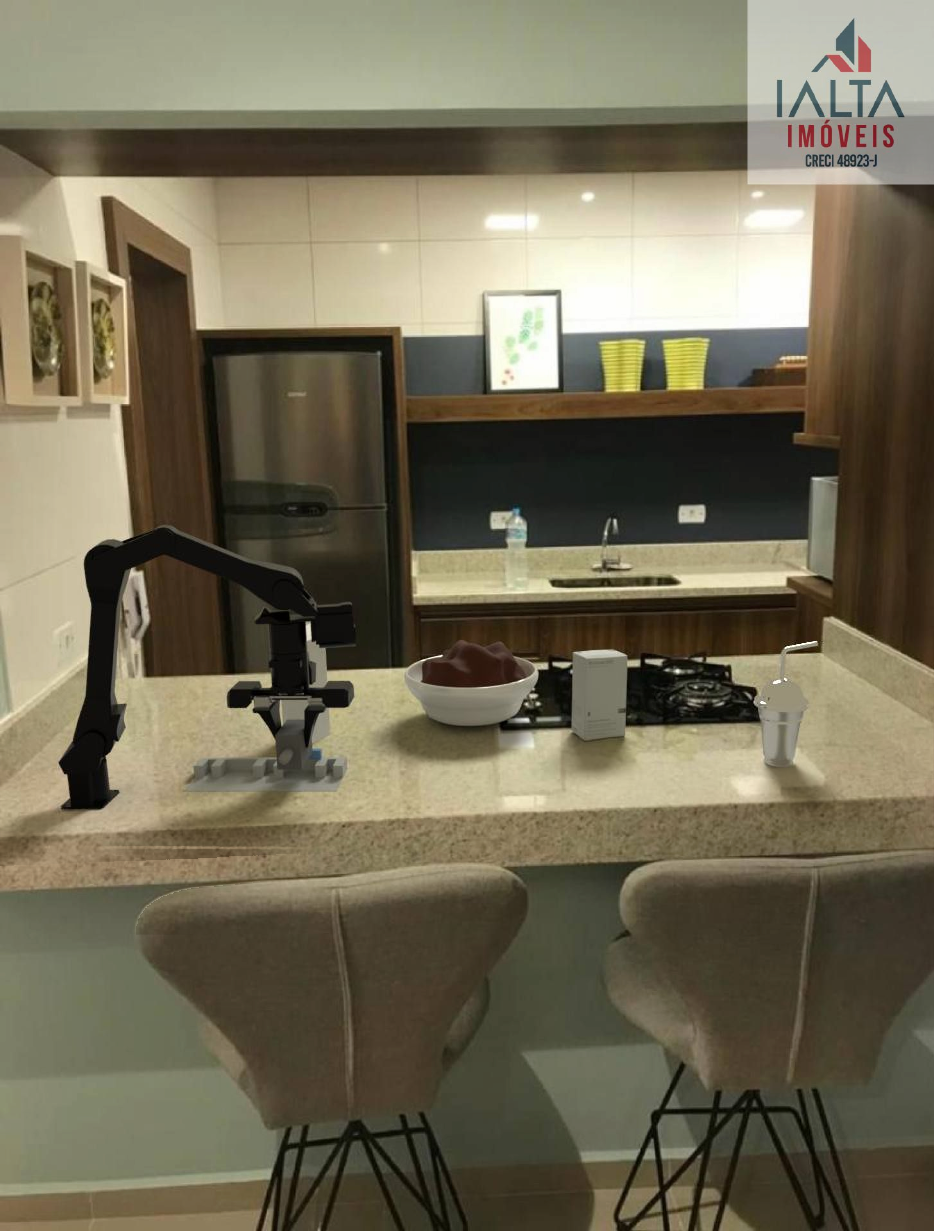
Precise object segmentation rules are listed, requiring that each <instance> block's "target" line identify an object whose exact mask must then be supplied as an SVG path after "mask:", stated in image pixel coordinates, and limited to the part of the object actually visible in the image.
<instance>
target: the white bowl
mask: <svg viewBox="0 0 934 1231" xmlns="http://www.w3.org/2000/svg"><path fill="white" fill-rule="evenodd" d="M403 675H404V676H403V679H404V684H405V685H406V687H407V689H408V690H409V691H410V693H411V694H412V695H413V696H414V697H415V699H417V700H418V701H419V703H420V705H421V707H422V709H423V711H424V712H425V714H426V715H427V716H428V718H431V719H433V720H434V721H437V722H439V723H442V724H444V725H445V724H446V725H451V726H461V727H478V726H480V727H481V726H489V725H494V724H498V723H501V722H504V721H507V720H508V719H510V718H512V717H514V716H515V715H516V714H518V713H519V711H520V708H521V707H522V705H523V702H524V700H525V698H526V697H527V696H528V695H529V694H530V693H531V692H532V690H533V689H534V687H535V686H536V684H537V683H538V679H539V670H538V669H537V666H536V665H535V664H534V663H532V662H531V661H529V660H527V659H525V658H520V657H518V656H514V655H513V654H512V652H511V651H510V650H509V649H508V647H506V646H505V643H504V642H502V641H496V642H494V643H491V644H489V645H487V646H481V645H479V644H476V643H471V642H470V643H469V642H467V641H466V640H462V639H459V640H457V641H456V642H455V643H454V644H453V645H452V646H451V648H450V649H445V650H444V651H443V652H442V653H441V655H437V656H432V657H428V658H425V659H422V660H419V661H416V662H414V663H412V664H411V665H409V666H408V667H407V668H406V669H405V672H404V674H403Z"/></svg>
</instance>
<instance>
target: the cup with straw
mask: <svg viewBox="0 0 934 1231" xmlns="http://www.w3.org/2000/svg"><path fill="white" fill-rule="evenodd" d="M818 646H819V643H818V641H817V640H816V641H811V642H806V643H801V644H796V645H789V646H786V647H784V648H783V649H782V650H781V652H780V670H779V671H780V672H779V678H775V679H772V680H770V681H768V682H766V683H765V684H764V685H763V686H762V688H761V689H760V691H759V693H758V694H757V695H756V696H754V700H753V704H754V706H755V707H757V708H758V714H759V720H760V727H761V728H760V729H761V742H762V754H763V756H764V758H763V762H764V764H766V765H769V766H772V767H777V768H786V767H787V768H788V767H790V766H793V764H794V758H795V755H796V749H797V744H798V740H799V732H800V728H801V723H802V721H803V718H804V715H805V714H804V713H805V711H807V710H809V708H810V707H811V706H810V702H809V699H808V698H807V697H805V694H804V692H803V690H802V688H801V687H800V686H799V685H798V684H797V683H796V682H795V681H792V680H790V679H787V678H785V676H786V660H787V659H786V658H787V657H786V656H787V655H786V654H787V653H788V652H791V651H797V650H801V649H807V648H811V647H818Z"/></svg>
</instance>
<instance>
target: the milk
mask: <svg viewBox="0 0 934 1231" xmlns="http://www.w3.org/2000/svg"><path fill="white" fill-rule="evenodd" d="M306 634H307V651H308V652H309V660H310V661H312V662H315V663H316V682H314V683H313V684H312V685H309V686H310V688H324V686H325V685H326V684H327V682H328V672H327V671H328V670H327V653H326V651H327V650H326V649H327V648H319V645H316V641H315V642H312V641H311V625H310V622H306ZM302 694H304V693H302ZM280 704H281V713H282V714H281V715H282V725H283V724H284V723H285V722H286V720H304V710H305V709H306V707H307V706H308V705H309V703H308V700H280ZM330 722H331V721H330V708H326V710H325V711H324V712H323V713H319V715H318V718H317V720H316V724H315V727H314V731H313V735H312V745H314V744H315V743H317V742H319V741H320V740H323V739H325V737H328V736H330V735H331V726H330V725H331V724H330Z"/></svg>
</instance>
